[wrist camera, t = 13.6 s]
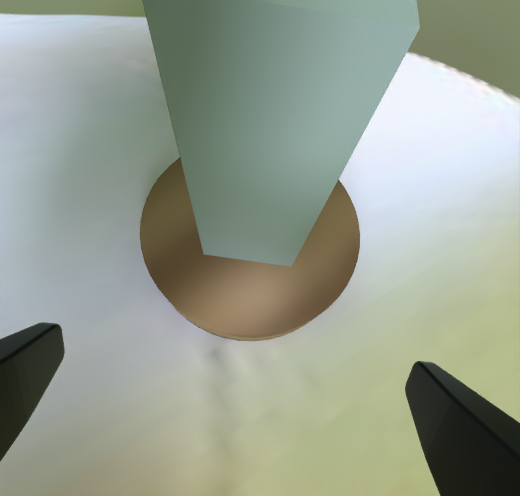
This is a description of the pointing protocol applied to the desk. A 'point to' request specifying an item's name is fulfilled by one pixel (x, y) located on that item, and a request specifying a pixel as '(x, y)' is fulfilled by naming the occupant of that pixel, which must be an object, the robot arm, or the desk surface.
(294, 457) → the desk surface
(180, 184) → the walnut stand
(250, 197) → the pale green tall block
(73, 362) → the desk surface
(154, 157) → the desk surface
